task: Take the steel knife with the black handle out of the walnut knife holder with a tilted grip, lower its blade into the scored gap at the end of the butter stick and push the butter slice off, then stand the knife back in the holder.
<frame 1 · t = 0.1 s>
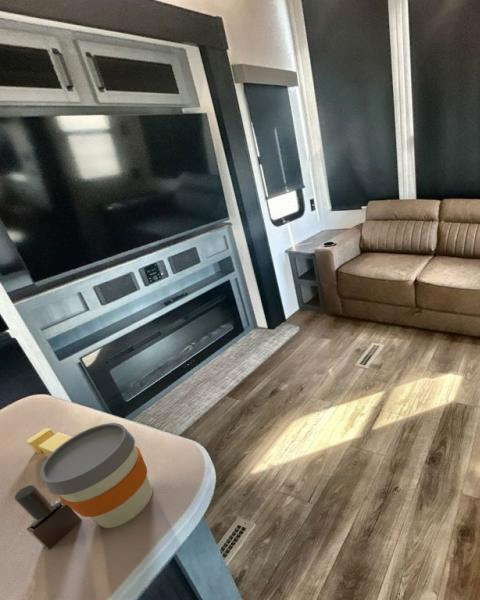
knife holder: (62, 532, 65), on the table
knife: (44, 513, 63), in the knife holder
butter stick: (65, 452, 82), on the table
butter slice: (46, 445, 85), on the table
reusable coffee cup: (126, 504, 69), on the table
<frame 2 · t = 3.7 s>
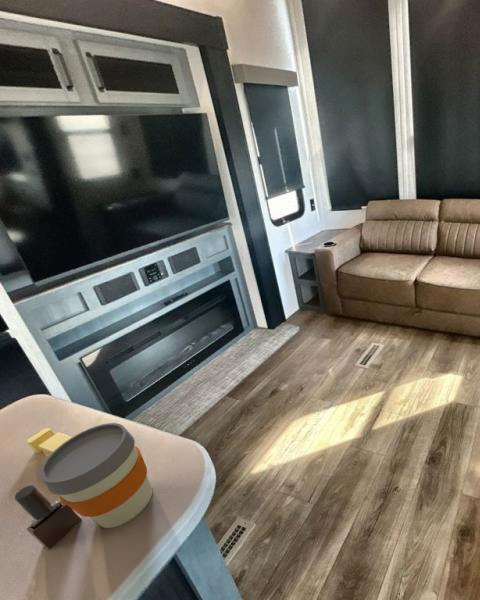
nothing on the table moved.
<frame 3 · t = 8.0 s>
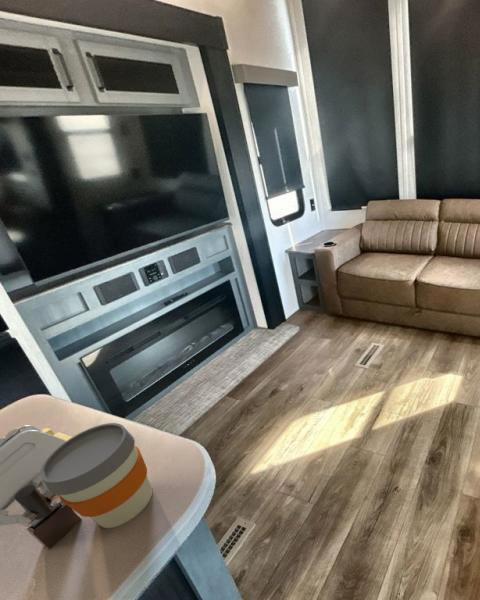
hand: (43, 509, 62), 7 cm above the table, tool tilted 45°, fingers closed on knife, 2 cm apart
knife: (44, 513, 63), in the knife holder, touching gripper
everything else where it was.
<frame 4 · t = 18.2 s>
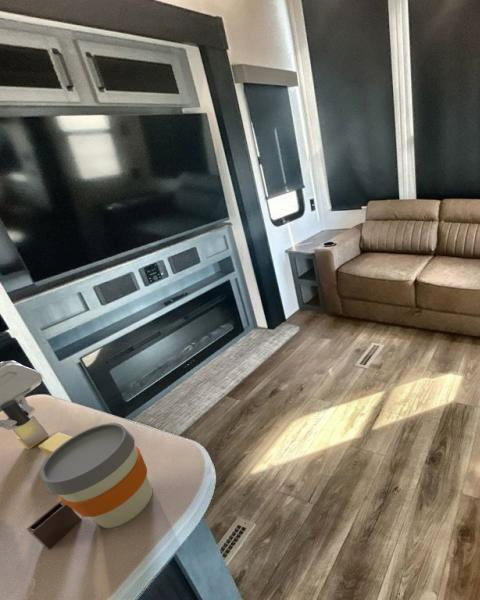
hand: (22, 419, 82), 8 cm above the table, tool tilted 45°, fingers closed on knife, 2 cm apart
knife: (23, 422, 83), point 7 cm above the table, touching butter slice, gripper
butter slice: (36, 441, 86), on the table, touching knife
everything else where it was.
when the fingers open (7 cm above the table, at t = 29.4 s): knife stays where it is, resting in knife holder.
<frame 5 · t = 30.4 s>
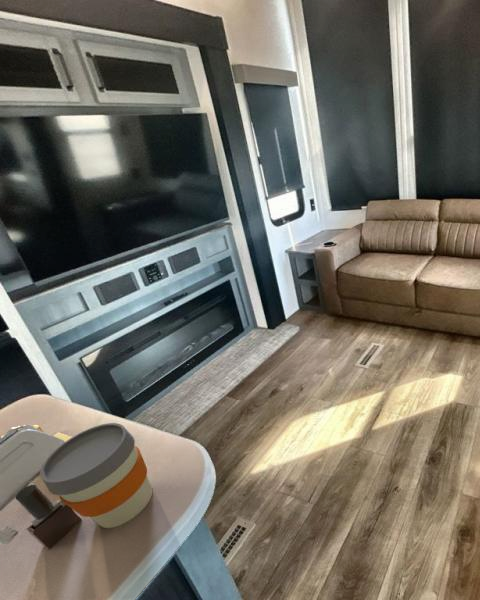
hand: (41, 509, 62), 7 cm above the table, tool tilted 45°, fingers open, 8 cm apart
knife: (45, 512, 63), in the knife holder
butter slice: (36, 442, 87), on the table
everything else where it was.
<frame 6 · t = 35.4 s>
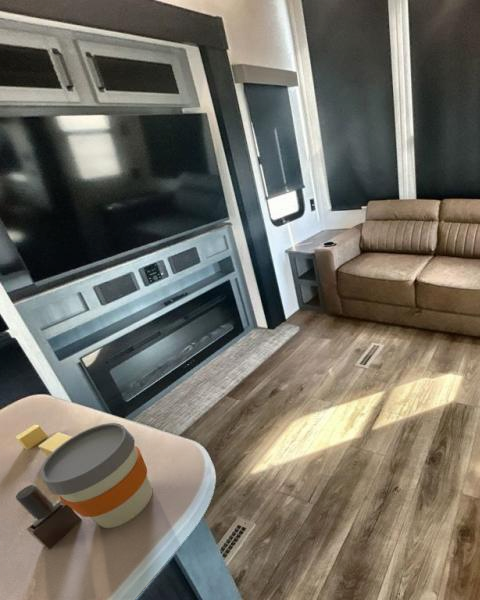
nothing on the table moved.
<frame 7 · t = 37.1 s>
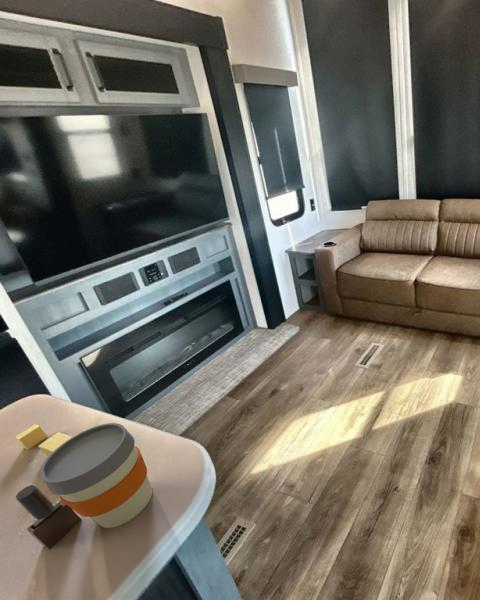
nothing on the table moved.
at the end: butter slice moved 4.4 cm from its start; butter stick moved 0.0 cm from its start; knife 0.2 cm off-centre on the knife holder, point 5.8 cm above the knife holder's base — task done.
